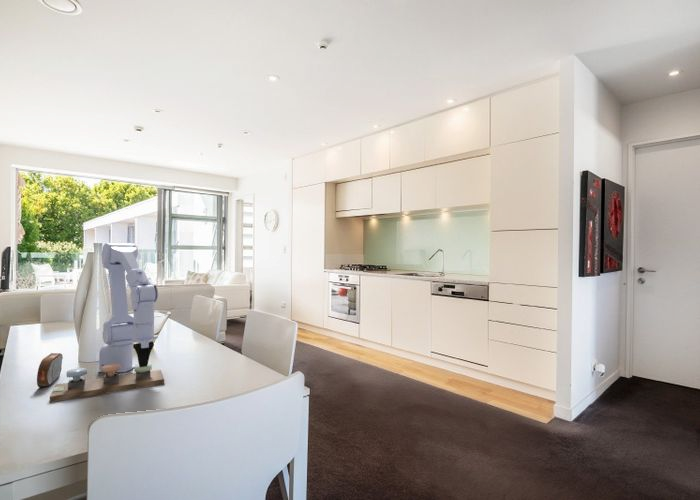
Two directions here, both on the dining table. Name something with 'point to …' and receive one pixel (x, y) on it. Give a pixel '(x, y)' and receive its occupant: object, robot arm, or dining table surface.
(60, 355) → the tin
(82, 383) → the button board
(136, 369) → the sage button
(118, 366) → the terracotta button
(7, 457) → the dining table surface
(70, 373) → the slate button
